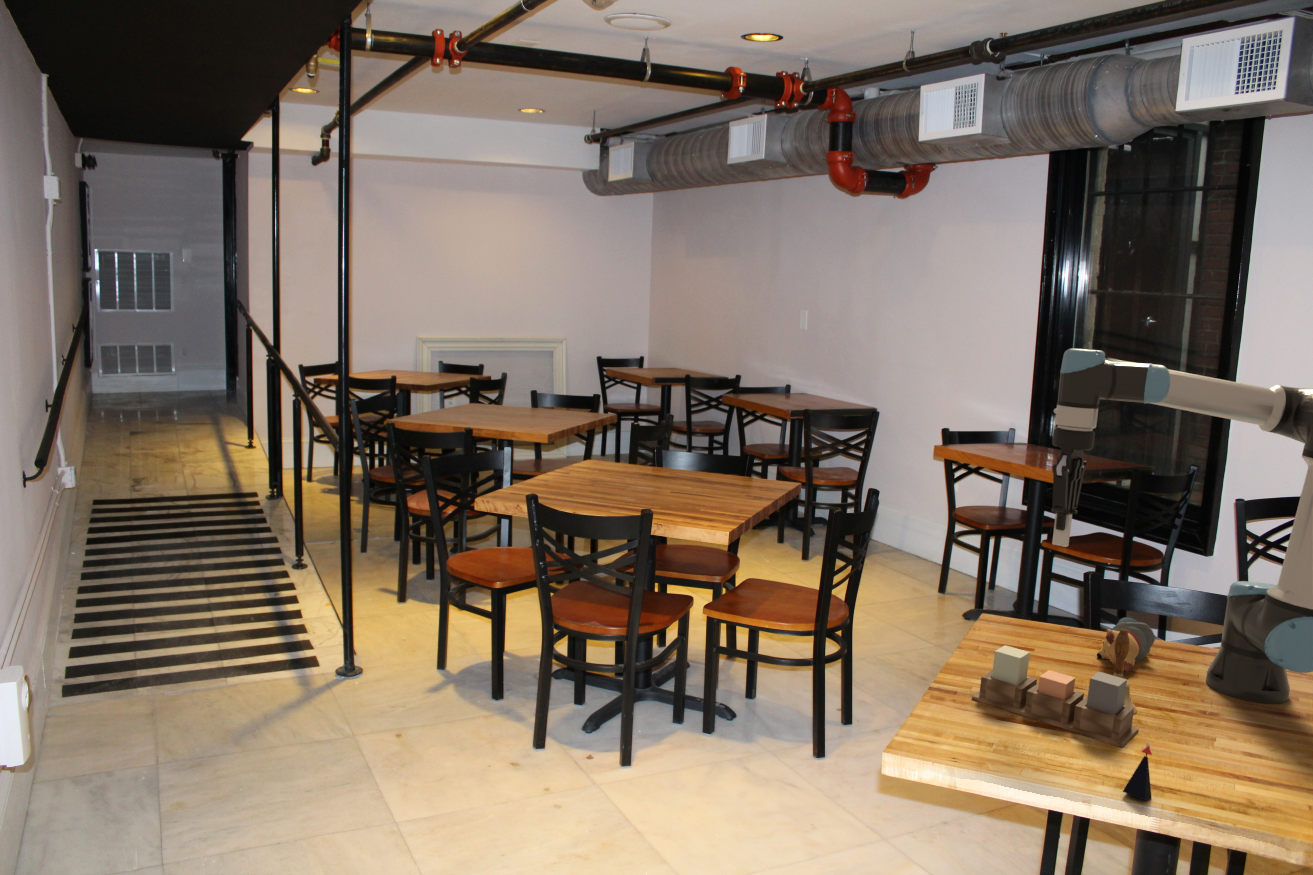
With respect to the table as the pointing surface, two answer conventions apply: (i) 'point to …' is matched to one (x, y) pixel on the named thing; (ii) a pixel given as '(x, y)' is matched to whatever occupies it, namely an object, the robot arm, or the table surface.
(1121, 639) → the hand bell
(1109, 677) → the grey square block
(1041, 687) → the terracotta button
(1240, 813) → the table surface
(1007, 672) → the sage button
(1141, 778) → the figurine
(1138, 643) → the figurine
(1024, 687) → the wooden base
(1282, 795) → the table surface
